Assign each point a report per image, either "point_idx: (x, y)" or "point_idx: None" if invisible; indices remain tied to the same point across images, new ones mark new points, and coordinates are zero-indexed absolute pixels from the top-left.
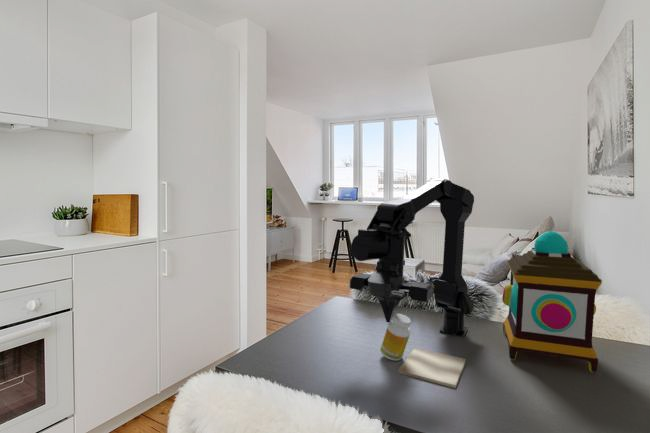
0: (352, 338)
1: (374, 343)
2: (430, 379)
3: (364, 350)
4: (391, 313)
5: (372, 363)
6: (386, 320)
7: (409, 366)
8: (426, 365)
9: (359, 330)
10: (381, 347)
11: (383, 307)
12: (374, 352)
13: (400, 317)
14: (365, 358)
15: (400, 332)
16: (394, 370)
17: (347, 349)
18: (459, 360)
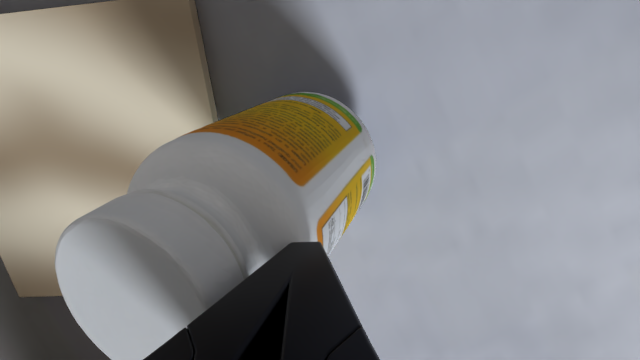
0: (611, 242)
1: (462, 249)
2: (13, 13)
3: (482, 140)
4: (220, 300)
5: (369, 11)
6: (316, 246)
7: (161, 78)
8: (104, 142)
9: (604, 347)
10: (355, 126)
11: (338, 345)
12: (418, 150)
13: (144, 306)
14: (434, 47)
15: (148, 160)
16: (223, 11)
17: (591, 92)
18: (29, 272)
